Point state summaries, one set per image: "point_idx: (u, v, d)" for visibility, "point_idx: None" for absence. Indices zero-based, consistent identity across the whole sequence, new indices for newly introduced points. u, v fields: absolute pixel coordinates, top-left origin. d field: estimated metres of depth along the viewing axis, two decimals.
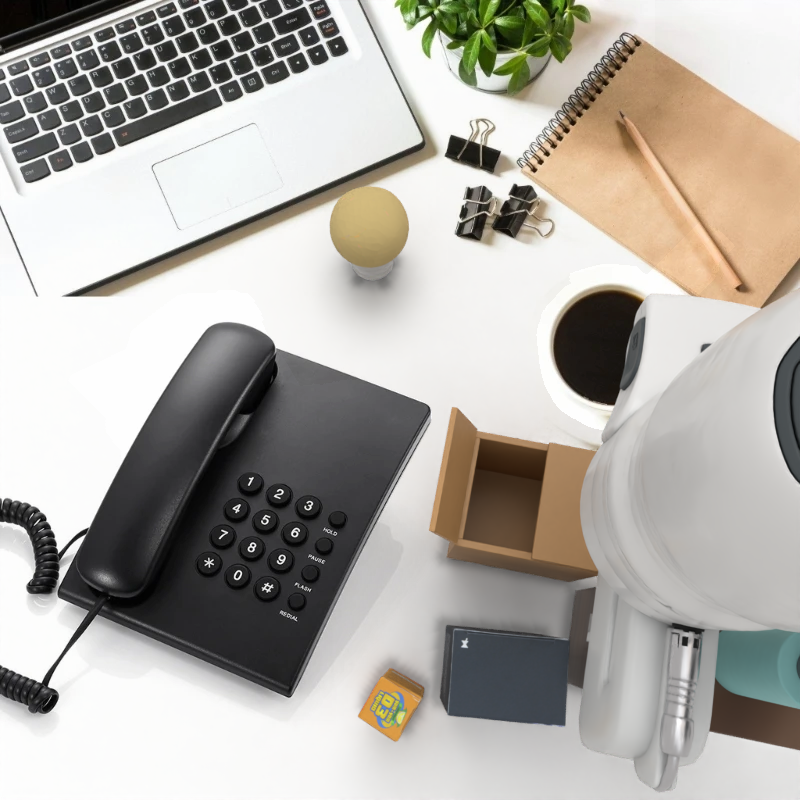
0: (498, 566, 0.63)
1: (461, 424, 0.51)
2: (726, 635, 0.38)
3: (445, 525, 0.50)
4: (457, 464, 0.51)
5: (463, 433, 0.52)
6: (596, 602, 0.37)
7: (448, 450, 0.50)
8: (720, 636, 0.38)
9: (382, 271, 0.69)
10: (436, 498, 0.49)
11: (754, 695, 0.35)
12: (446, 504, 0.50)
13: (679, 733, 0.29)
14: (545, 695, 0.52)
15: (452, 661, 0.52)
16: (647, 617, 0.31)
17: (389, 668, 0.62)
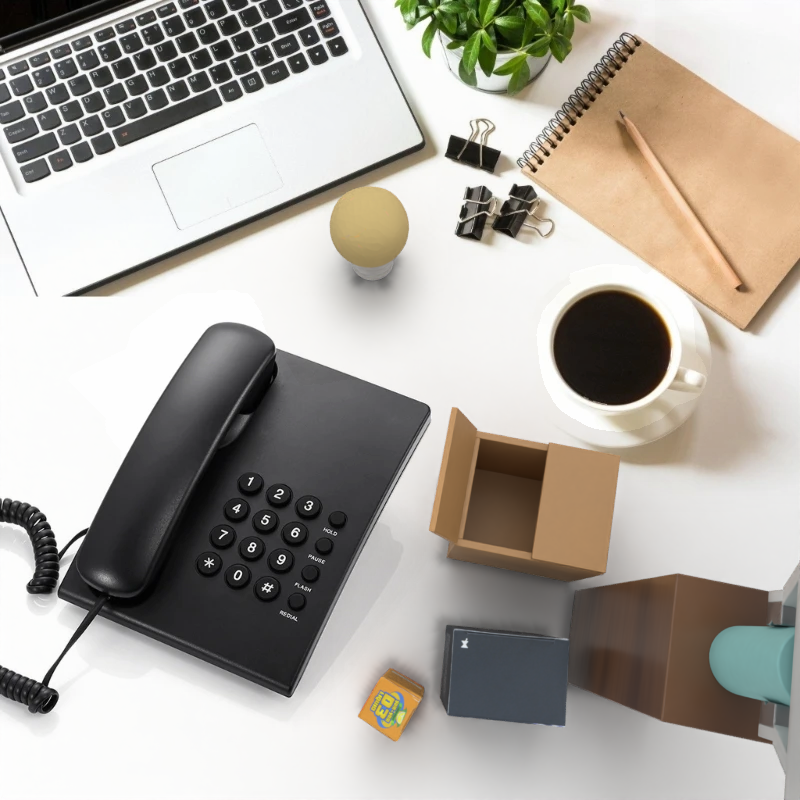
0: (498, 566, 0.63)
1: (461, 424, 0.51)
2: (726, 635, 0.38)
3: (445, 525, 0.50)
4: (457, 464, 0.51)
5: (463, 433, 0.52)
6: (794, 772, 0.28)
7: (448, 450, 0.50)
8: (720, 636, 0.38)
9: (382, 271, 0.69)
10: (436, 498, 0.49)
11: (754, 695, 0.35)
12: (446, 504, 0.50)
13: None
14: (545, 695, 0.52)
15: (452, 661, 0.52)
16: None
17: (389, 668, 0.62)
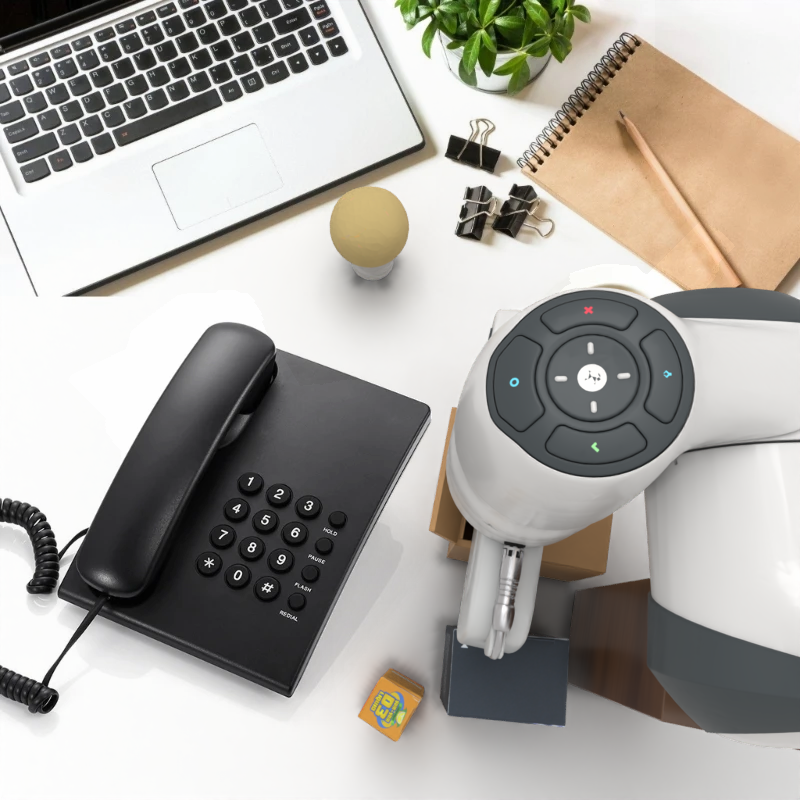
0: None
1: None
2: None
3: (445, 525, 0.50)
4: None
5: None
6: (472, 538, 0.50)
7: None
8: None
9: (382, 271, 0.69)
10: (436, 498, 0.49)
11: None
12: (446, 504, 0.50)
13: (503, 615, 0.41)
14: (545, 695, 0.52)
15: (452, 661, 0.52)
16: (491, 540, 0.44)
17: (389, 668, 0.62)
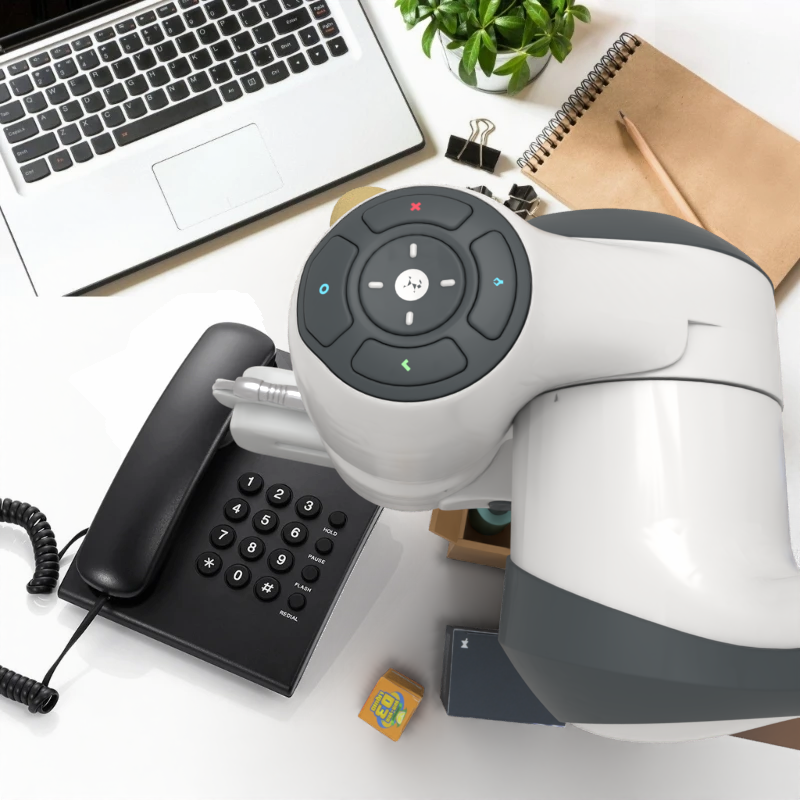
0: (498, 566, 0.63)
1: None
2: None
3: (445, 525, 0.50)
4: None
5: None
6: None
7: None
8: None
9: None
10: None
11: (481, 527, 0.61)
12: None
13: (249, 385, 0.39)
14: None
15: (452, 661, 0.52)
16: None
17: (389, 668, 0.62)
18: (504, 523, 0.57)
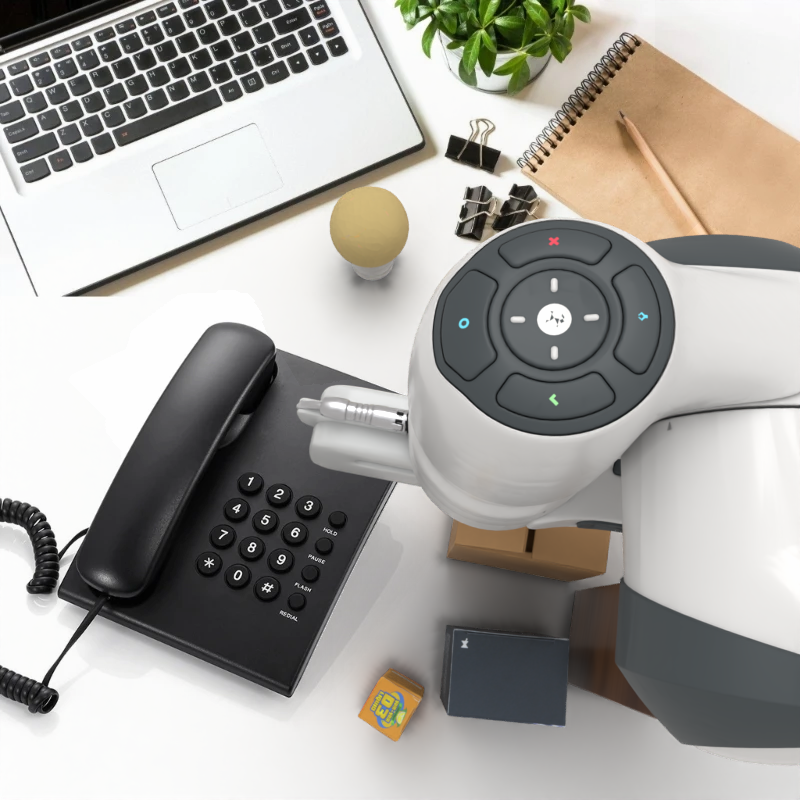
0: (498, 566, 0.63)
1: None
2: None
3: None
4: None
5: None
6: None
7: None
8: None
9: (382, 271, 0.69)
10: None
11: None
12: None
13: (336, 404, 0.40)
14: (545, 695, 0.52)
15: (452, 661, 0.52)
16: None
17: (389, 668, 0.62)
18: None
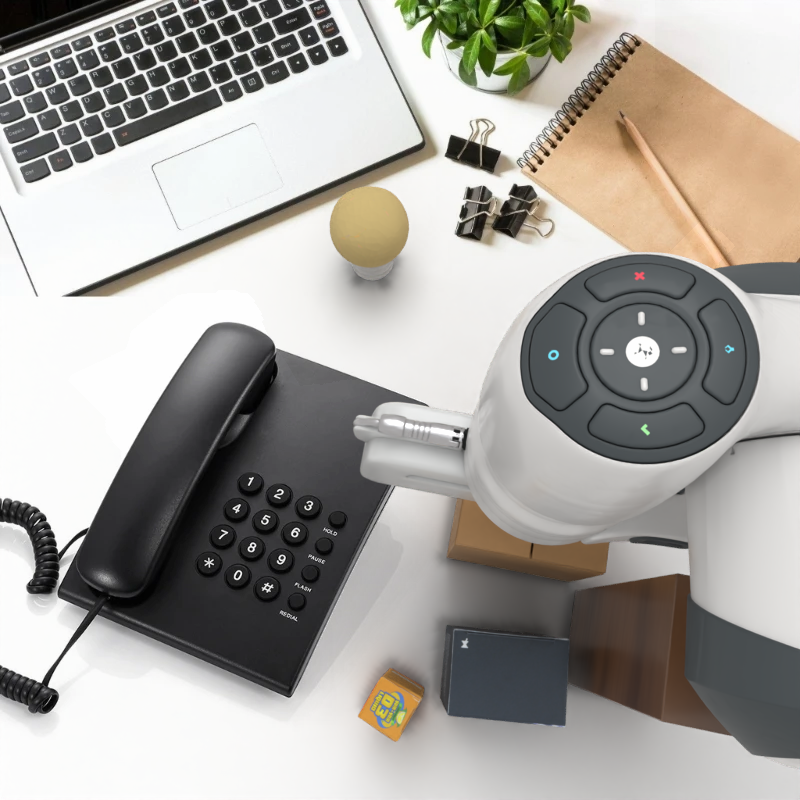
0: (498, 566, 0.63)
1: None
2: None
3: None
4: None
5: None
6: None
7: None
8: None
9: (382, 271, 0.69)
10: None
11: None
12: None
13: (394, 422, 0.41)
14: (546, 695, 0.52)
15: (452, 661, 0.52)
16: (470, 423, 0.42)
17: (389, 668, 0.62)
18: None
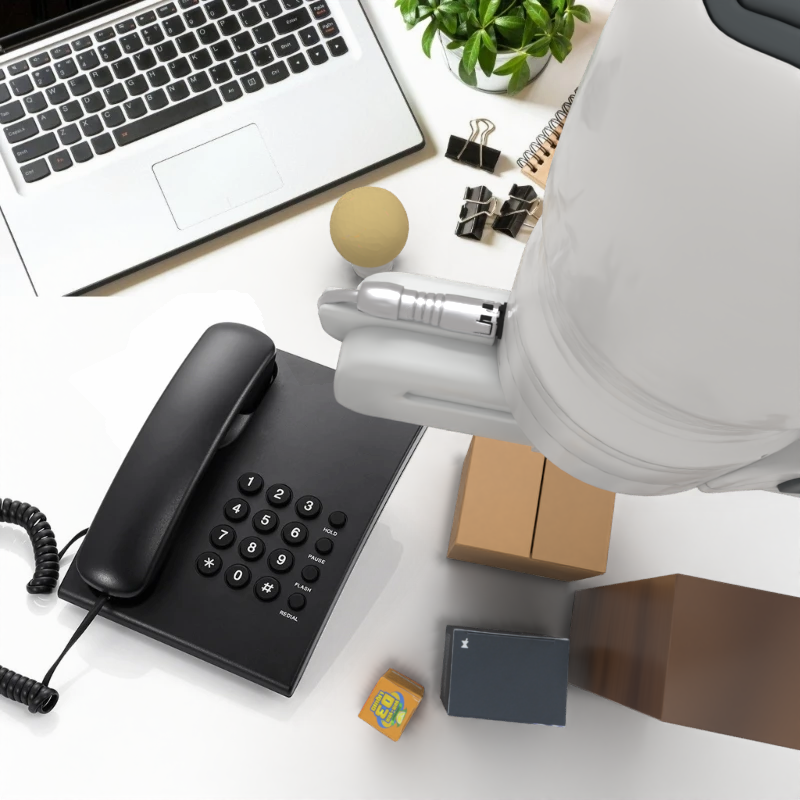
0: (498, 566, 0.63)
1: None
2: None
3: None
4: None
5: None
6: None
7: None
8: None
9: (382, 271, 0.69)
10: (533, 527, 0.53)
11: None
12: None
13: (384, 292, 0.24)
14: (546, 695, 0.52)
15: (452, 661, 0.52)
16: None
17: (389, 668, 0.62)
18: None
